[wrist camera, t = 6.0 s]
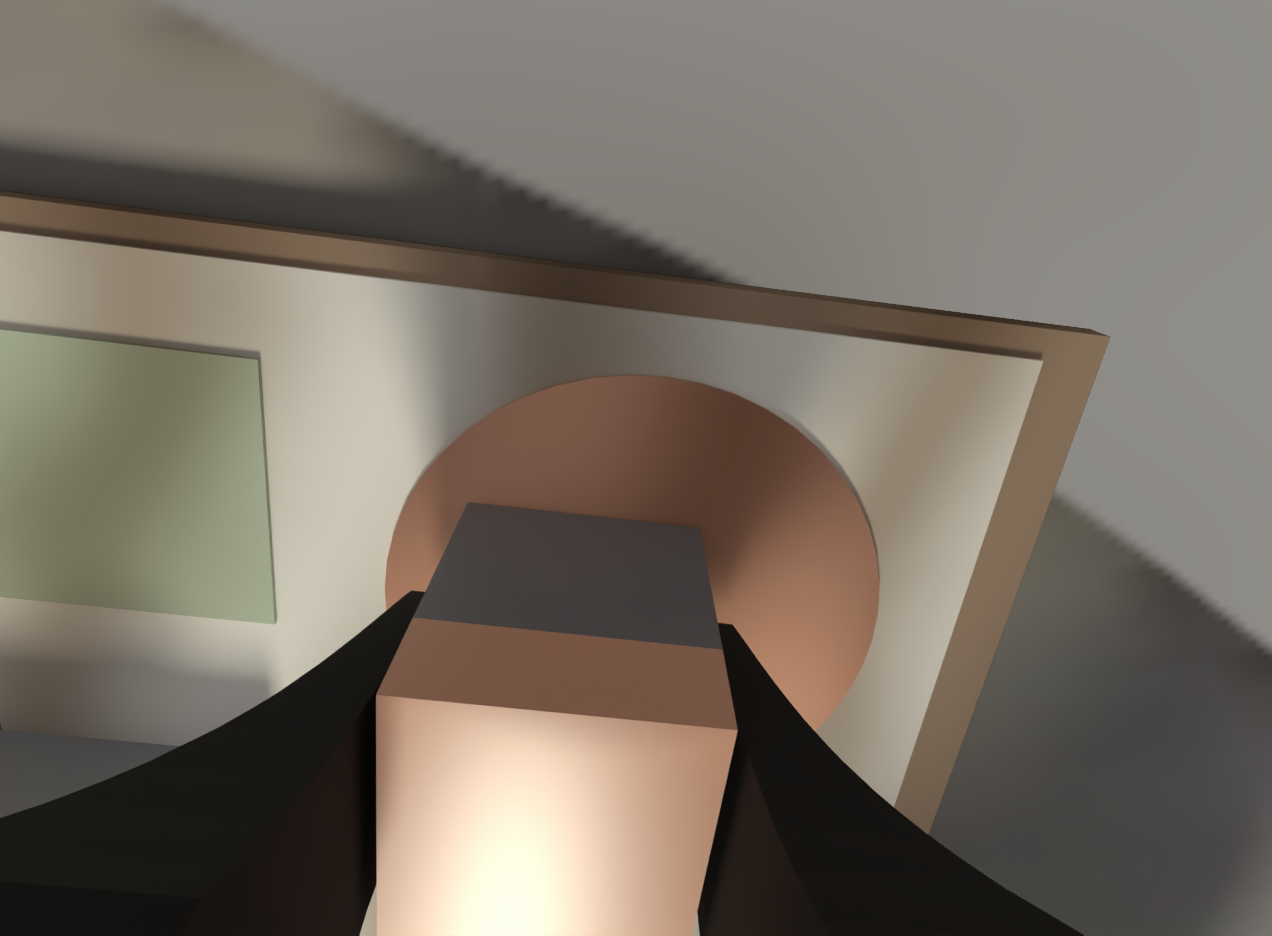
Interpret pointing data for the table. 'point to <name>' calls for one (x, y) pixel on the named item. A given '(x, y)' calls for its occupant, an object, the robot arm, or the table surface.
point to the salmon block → (553, 733)
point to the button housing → (61, 765)
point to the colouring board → (494, 465)
